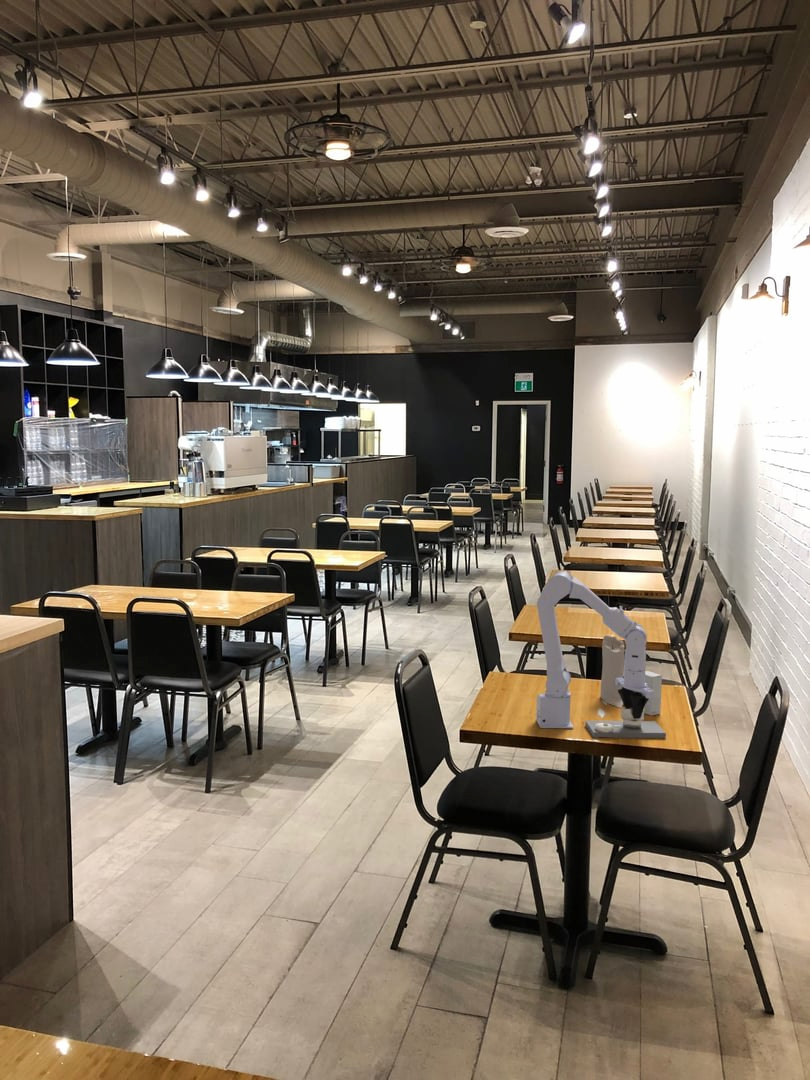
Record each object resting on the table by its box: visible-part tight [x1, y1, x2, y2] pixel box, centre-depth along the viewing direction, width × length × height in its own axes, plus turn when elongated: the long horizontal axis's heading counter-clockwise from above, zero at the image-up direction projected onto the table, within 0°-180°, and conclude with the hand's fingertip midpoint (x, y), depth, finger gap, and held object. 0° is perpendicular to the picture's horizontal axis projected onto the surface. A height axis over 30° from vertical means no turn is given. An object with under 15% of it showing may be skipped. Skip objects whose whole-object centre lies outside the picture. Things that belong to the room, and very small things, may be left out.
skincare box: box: [644, 670, 663, 716], centre depth 256 cm, size 6×4×12 cm
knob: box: [620, 705, 645, 729], centre depth 238 cm, size 6×5×6 cm
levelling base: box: [584, 720, 667, 739], centre depth 238 cm, size 20×10×3 cm, turn 90°
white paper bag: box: [599, 635, 625, 709], centre depth 266 cm, size 7×14×20 cm, turn 9°
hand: (633, 716), depth 238 cm, fingers closed on knob, 3 cm apart
